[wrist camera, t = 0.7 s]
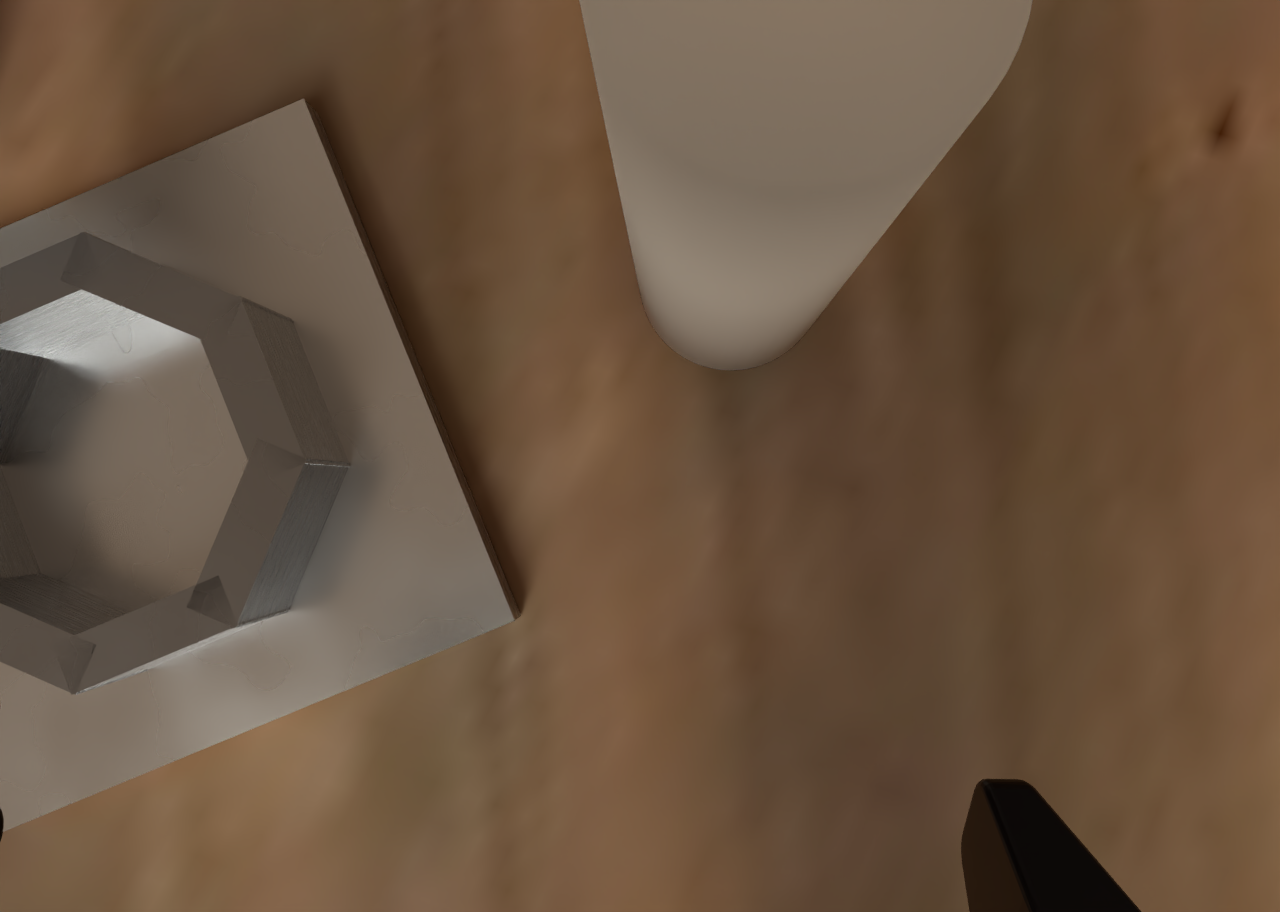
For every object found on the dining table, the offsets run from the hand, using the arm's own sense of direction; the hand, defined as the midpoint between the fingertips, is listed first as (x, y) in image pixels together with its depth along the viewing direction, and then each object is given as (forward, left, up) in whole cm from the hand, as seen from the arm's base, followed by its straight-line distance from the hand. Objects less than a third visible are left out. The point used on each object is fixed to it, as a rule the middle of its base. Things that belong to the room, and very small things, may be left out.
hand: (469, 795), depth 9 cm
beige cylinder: (+6, -6, -13) cm, 15 cm away
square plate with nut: (+7, +7, -13) cm, 16 cm away
